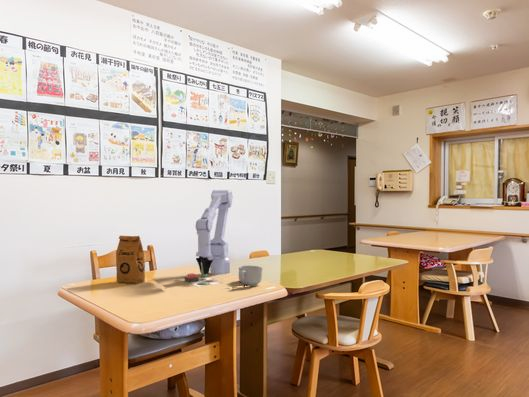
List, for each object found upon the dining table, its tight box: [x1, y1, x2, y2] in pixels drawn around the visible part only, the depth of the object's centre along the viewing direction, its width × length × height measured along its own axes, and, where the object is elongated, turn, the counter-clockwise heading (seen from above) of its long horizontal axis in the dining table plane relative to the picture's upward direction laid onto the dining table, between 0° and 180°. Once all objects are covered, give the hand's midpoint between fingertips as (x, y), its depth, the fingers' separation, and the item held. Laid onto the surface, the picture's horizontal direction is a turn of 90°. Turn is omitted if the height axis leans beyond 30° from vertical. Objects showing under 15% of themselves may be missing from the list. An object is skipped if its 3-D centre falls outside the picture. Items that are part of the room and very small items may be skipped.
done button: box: [186, 272, 197, 279], centre depth 178 cm, size 3×3×2 cm
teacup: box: [238, 264, 264, 287], centre depth 175 cm, size 14×11×8 cm
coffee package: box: [115, 235, 146, 285], centre depth 182 cm, size 10×12×22 cm
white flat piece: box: [184, 276, 223, 287], centre depth 177 cm, size 13×15×3 cm
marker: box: [200, 262, 209, 278], centre depth 182 cm, size 3×3×7 cm
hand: (204, 273), depth 182 cm, fingers closed on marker, 3 cm apart
